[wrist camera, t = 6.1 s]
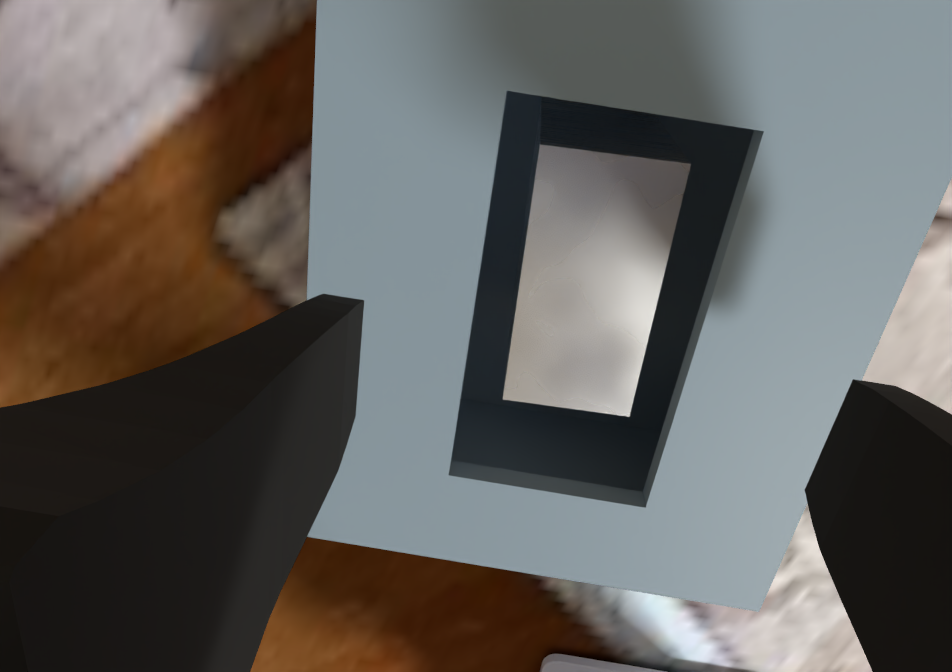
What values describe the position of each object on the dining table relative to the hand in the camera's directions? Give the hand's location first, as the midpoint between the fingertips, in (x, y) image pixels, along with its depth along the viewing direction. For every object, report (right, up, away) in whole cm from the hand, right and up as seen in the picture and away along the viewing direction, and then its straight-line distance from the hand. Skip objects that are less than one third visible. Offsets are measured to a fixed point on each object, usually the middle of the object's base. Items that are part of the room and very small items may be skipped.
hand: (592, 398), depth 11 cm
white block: (+1, +4, +7) cm, 8 cm away
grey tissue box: (+1, +4, +7) cm, 8 cm away
